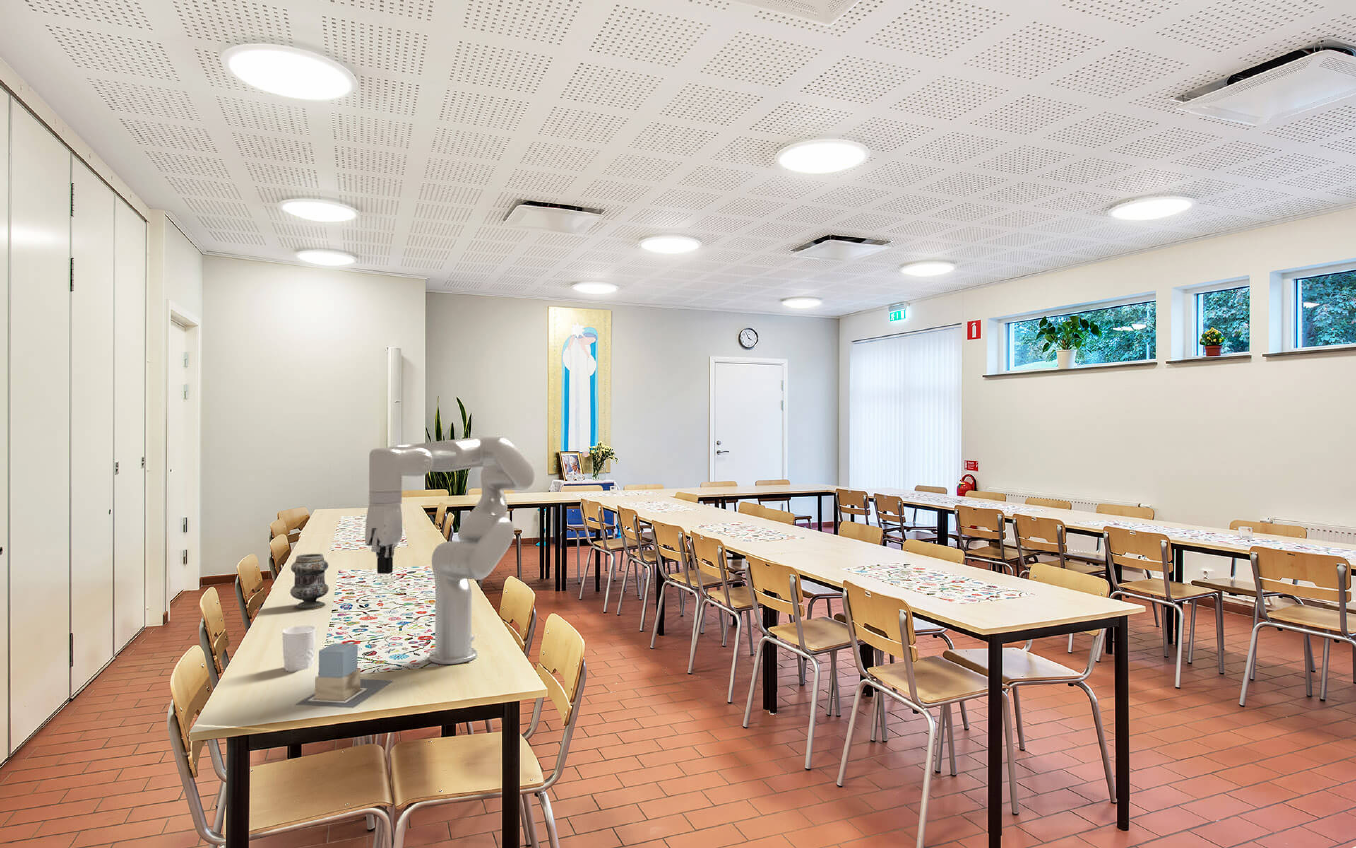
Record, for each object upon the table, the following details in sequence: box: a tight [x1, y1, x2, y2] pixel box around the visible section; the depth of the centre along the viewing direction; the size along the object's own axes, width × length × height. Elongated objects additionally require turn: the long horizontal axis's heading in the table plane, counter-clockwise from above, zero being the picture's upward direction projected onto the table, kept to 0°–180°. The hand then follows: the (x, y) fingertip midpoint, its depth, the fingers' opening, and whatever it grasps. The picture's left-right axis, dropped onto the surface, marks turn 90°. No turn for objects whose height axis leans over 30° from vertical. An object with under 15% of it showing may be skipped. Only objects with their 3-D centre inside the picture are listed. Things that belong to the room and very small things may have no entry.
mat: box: [295, 678, 394, 709], centre depth 178 cm, size 18×14×1 cm
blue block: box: [318, 642, 359, 678], centre depth 176 cm, size 6×6×6 cm
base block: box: [314, 668, 361, 701], centre depth 176 cm, size 7×7×5 cm
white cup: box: [281, 625, 317, 673], centre depth 197 cm, size 8×8×10 cm
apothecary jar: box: [289, 553, 330, 611], centre depth 263 cm, size 12×12×18 cm
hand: (384, 573), depth 185 cm, fingers closed
